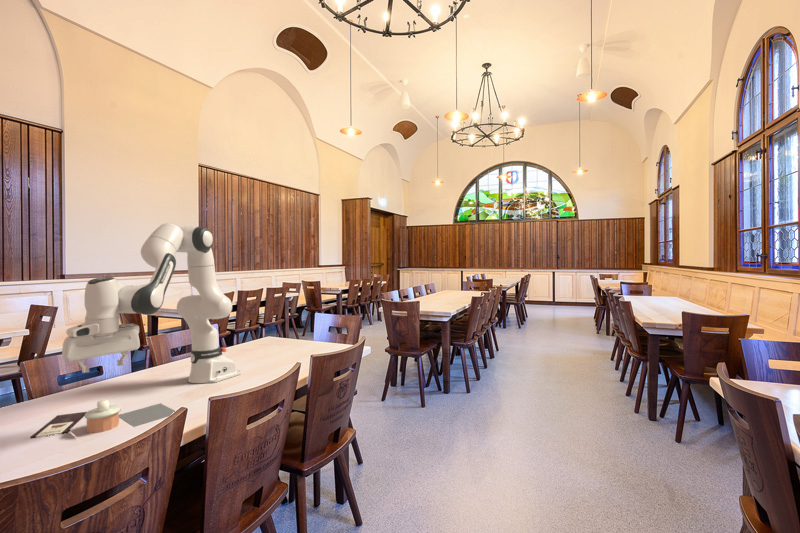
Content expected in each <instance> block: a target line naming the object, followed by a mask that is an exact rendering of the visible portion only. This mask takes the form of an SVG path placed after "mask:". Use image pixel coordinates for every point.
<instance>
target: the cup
mask: <svg viewBox="0 0 800 533" xmlns="http://www.w3.org/2000/svg"><path fill="white" fill-rule="evenodd" d="M119 415H120V412H118V413H116V414H114V415H111V416H108V417H103V418H97V419H87V418H86V432H87V433H88V434H89V433H91V434H96V433H103V432H107V431H110V430H113V429H115V428H116V427H118V426H119V425H120V418H119Z"/></svg>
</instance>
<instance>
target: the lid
mask: <svg viewBox="0 0 800 533" xmlns="http://www.w3.org/2000/svg"><path fill="white" fill-rule="evenodd" d="M96 403H97V404H96V406H97V407H95V408H92V409H90V410H88V411H85V412H86V413H85V416H84V418H85V419H86V420H87V419H97V418H103V417H108V416H111V415H114V414H116V413H118V412H119V413H120V412H121V409H122V406H120V405H118V404H117V405H114V404H113V405H110V401H109V399H103V400H98V401H97V402H96Z"/></svg>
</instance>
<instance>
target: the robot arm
mask: <svg viewBox="0 0 800 533" xmlns="http://www.w3.org/2000/svg"><path fill="white" fill-rule="evenodd" d="M213 244H214V236H213V233H212V232H211V230H210V229H209V228H207V227H204V226H182V227H181V226H180V227H179V226H178V225H176V224H174V223H171V222H166V223H162V224H160V225H159V226H158V227H157V228H156V229H155V230H153V232H151V234H150V235H149V236H148V237H147V239H146V240H145V241H144V242H143V244H142V246H141V248H140V255H141V258H142V259H143V261H144V262H145V263H146V264H147V265H149V266H150V267H152V268H155V270H154V271H153V274H152V276H151V278H150V280H149V282H147V283H146V284H143V285H126V284H124V283H121V282H119V281H118V280H116V278H115V277H113V276H102V277H96V278H93V279H90V280H88V281H87V283H86V284H85V289H84V308H85V310H86V311H85V312H86V314H85V317H84V322H82V323H80V324H78V325H75V326H73V327H69V328H68V329H66V331H65V332H66V335H67V337H65V339H64V340H63V343H62V350H61V357H62V360H64V361H65V362H73V361H76V362H77V364H78V365H79V366H80V368H81V373H82V374H85V373H90V366H89V365H85V362H86V361H85V359H90V358H96V357H101V356H110V355H115V354H119V353H120V354H121V357H120V359H117V360H116V361H117V365H116V366H118V367H120V366H121V367H122V366H124V365H125V360H126V359H127V357H128V355H129V352H130V351H136V350H138V349H139V348H141V343H140V342H141V341H140V337H139V334H140V326H139V325H138V324H135V323H134V322H133V323H123V324H120V314H139V315H147V316H148V315H149V316H151V315H154V314H156V313H157V312H158V311H159V310H160V309H161V307H162V306H163V304H164V299H165V295H166V291H167V290H168V286H169V284H170V282H171V280H172V277H173V274H174V273H175V269H176V267H177V260H176V257H175V256H176V254H177V253H186V256H187V259H186V260H187V262H186V263H187V275H188V283H189V285H191V287H193V288H194V289H196V291H197V292H198V294H199V295H198V294H196V295H195V294H193V295H187V296H183V297H182V298H179V300H178V302H177V304H176V312H177V314H178V315H179V316H180V317H181V318H182V319H184V321H185V322H186V324H187V327H189V332H190V339H191V350H190V362H191V364H190V365H191V366H190V371H189V377H188V379H187V382H189V383H190V384H208V383H209V384H212V383H214V384H215V383H218V382H222V381H224V380H227V379H230V378H234V377H236V376H239V375H241V374H242V371H241V370H240V369H237V366H236V363H235V361H234V360H233V359H231V358H229V357H227V355H225V354H223V353H226V352H227V348H226V347H220V346H219V331H218V329H217V328H216V327H215V326H213V325H212V324H211V322H210V320H221V319H225V318H227V317H229V316H230V315H231V312H232V311H233V303H232V300H231V299H230V297H228V296H227V295H226V294H224V293H223V292H222V290H221V288H220V286H219V284H218V280H217V274H216V267H215V257H214V254H213V253H214V252H213V249H212V247H213Z"/></svg>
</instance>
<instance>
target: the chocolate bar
mask: <svg viewBox="0 0 800 533" xmlns="http://www.w3.org/2000/svg"><path fill="white" fill-rule="evenodd" d="M86 412H87V411H83V412H82V411H81V412H75V413H67V414H57V415H56V416H55V417H53V418H52V419H50V421H48V422H47V423H45V424H44V426H42V427H41V428H40V429H38V430H37V431H35V433H33V434H32V435H31V436H30V439H37V438H36V437H38V438H43V437H42V436H45V437H49V436H48V435H52V436H56V435H55V434H59V435H65V434H64V433H66V434H68V433H69V432H70V431H71V429H72V428H74V426H76V424H77V423H79V422H80V421H81V420H82V419H83V418H85V413H86Z"/></svg>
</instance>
